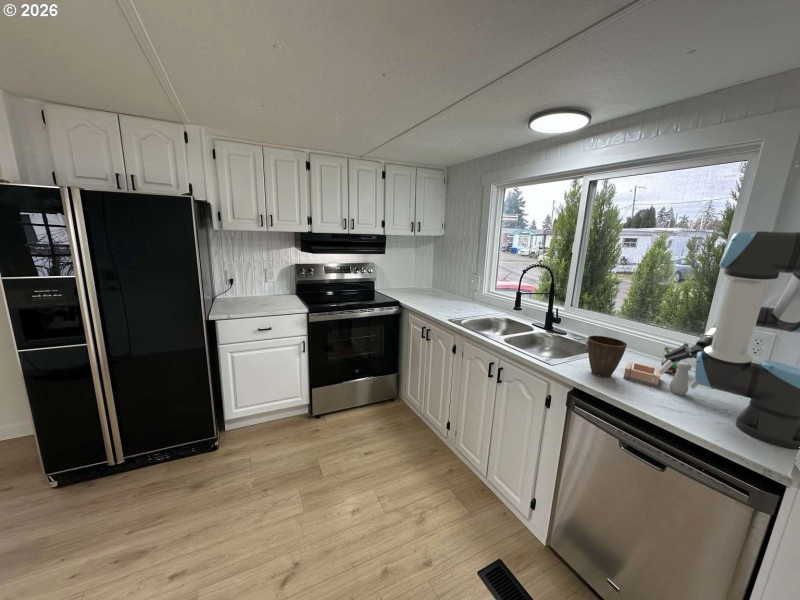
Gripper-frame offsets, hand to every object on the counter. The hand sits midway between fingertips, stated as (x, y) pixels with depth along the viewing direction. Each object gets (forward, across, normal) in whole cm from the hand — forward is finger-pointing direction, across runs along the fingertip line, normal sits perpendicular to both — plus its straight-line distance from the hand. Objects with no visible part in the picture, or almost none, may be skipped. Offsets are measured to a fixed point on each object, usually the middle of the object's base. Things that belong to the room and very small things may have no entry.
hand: (674, 379), depth 130 cm
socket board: (+5, +13, -4) cm, 14 cm away
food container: (-11, +18, -21) cm, 30 cm away
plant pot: (+16, +20, +7) cm, 26 cm away
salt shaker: (+3, -1, -6) cm, 6 cm away
